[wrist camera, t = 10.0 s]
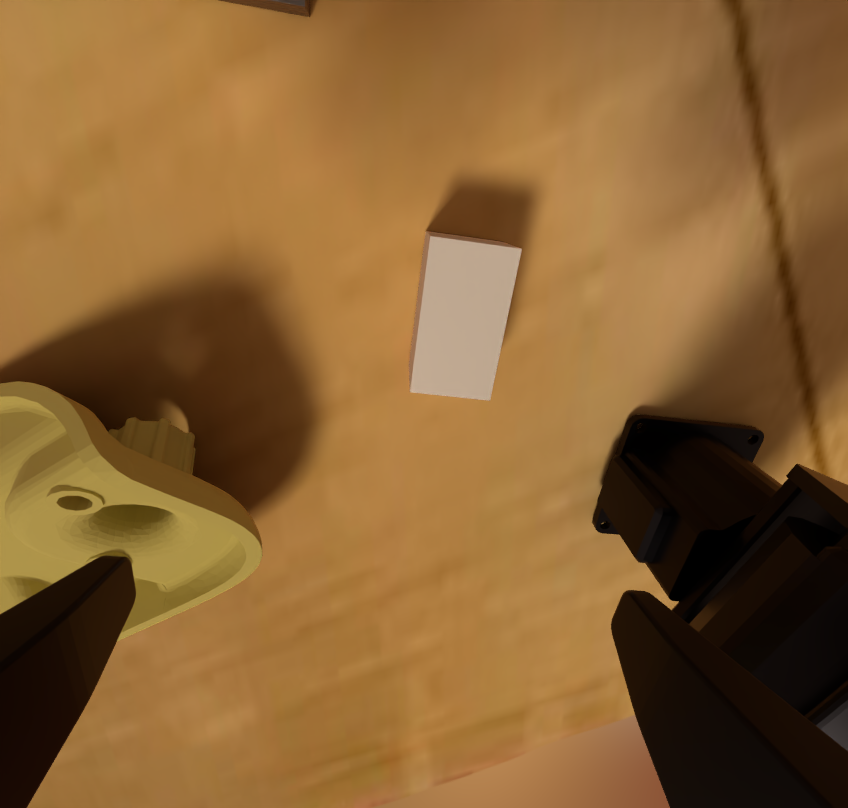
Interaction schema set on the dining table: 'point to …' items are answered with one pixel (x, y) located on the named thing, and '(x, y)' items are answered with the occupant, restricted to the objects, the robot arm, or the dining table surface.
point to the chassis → (279, 5)
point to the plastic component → (112, 507)
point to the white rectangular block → (461, 314)
